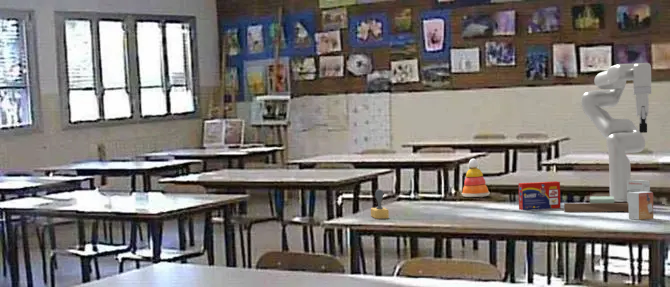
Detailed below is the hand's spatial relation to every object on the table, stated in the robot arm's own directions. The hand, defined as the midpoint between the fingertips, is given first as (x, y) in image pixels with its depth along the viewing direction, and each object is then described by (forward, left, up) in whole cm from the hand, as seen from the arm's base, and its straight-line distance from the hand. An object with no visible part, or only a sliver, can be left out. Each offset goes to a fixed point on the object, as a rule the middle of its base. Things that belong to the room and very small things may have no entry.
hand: (643, 132), depth 432 cm
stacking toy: (-43, -80, -32) cm, 96 cm away
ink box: (+10, -3, -32) cm, 34 cm away
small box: (+54, -4, -32) cm, 63 cm away
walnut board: (+28, -20, -32) cm, 47 cm away
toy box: (+15, -45, -32) cm, 57 cm away
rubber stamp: (+48, -110, -32) cm, 124 cm away
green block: (+21, -18, -32) cm, 43 cm away
